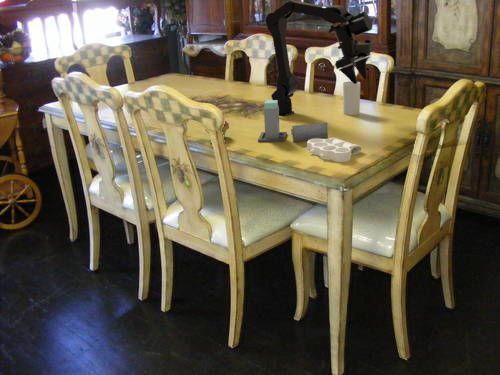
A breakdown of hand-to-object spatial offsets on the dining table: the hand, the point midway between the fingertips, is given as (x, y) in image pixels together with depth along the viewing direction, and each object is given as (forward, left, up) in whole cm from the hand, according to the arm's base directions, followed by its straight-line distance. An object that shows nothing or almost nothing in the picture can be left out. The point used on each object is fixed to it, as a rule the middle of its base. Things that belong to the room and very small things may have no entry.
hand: (360, 80), depth 220 cm
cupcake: (-25, -48, -15) cm, 56 cm away
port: (-2, -27, -15) cm, 31 cm away
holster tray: (-10, -36, -15) cm, 40 cm away
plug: (-10, -36, -15) cm, 40 cm away
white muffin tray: (+17, -34, -16) cm, 41 cm away
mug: (-11, +7, -15) cm, 20 cm away
